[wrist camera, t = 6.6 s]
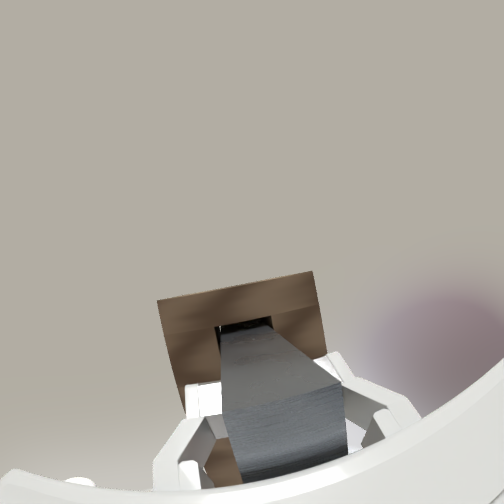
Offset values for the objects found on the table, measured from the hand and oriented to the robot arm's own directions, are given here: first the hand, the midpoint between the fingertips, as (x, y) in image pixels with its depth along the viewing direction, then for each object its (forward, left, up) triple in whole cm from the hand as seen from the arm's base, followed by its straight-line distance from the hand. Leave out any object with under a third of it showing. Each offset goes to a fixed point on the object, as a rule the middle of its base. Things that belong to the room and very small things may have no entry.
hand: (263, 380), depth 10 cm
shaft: (0, +8, -2) cm, 8 cm away
